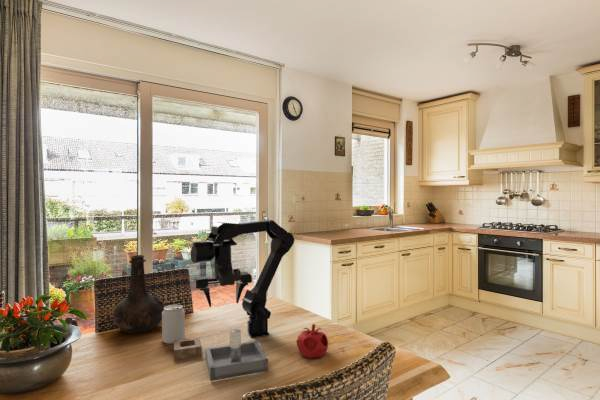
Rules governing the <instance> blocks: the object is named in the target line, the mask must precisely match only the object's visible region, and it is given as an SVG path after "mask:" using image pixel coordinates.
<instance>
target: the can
mask: <svg viewBox="0 0 600 400" xmlns="http://www.w3.org/2000/svg"><path fill="white" fill-rule="evenodd" d="M183 307H184V306H183V305H181V304H170V305H166V306H164V311H163V312H162V320H161V339H162V342H163V343H165V344H167V345H170V344H173V345H174V341H175V340H182V339H186V323H185V322H186V320H185V319H186V318H185V317H186V315H185V313H186V312H185V309H184V308H183Z"/></svg>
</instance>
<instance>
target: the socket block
mask: <svg viewBox="0 0 600 400" xmlns="http://www.w3.org/2000/svg"><path fill="white" fill-rule="evenodd" d="M173 352H174V353H173V355H174V356H173V357H174V361H177V360H179V361H180V360H184V359H185V360H186V359H190V358H191V359H193V358H197V357H198V358H200V357H202V355H203V353H202V352H203V350H202V342H201V338H200V337H198V336H196V337H191V338H190V337H189V338H185V339H182V340H175V341H174V343H173Z"/></svg>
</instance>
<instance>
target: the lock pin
mask: <svg viewBox="0 0 600 400" xmlns="http://www.w3.org/2000/svg"><path fill="white" fill-rule="evenodd" d="M241 339H242V330H241V329H232V330H230V331H229V345H230V363H234V362H240V361H241V343H242V340H241Z"/></svg>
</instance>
